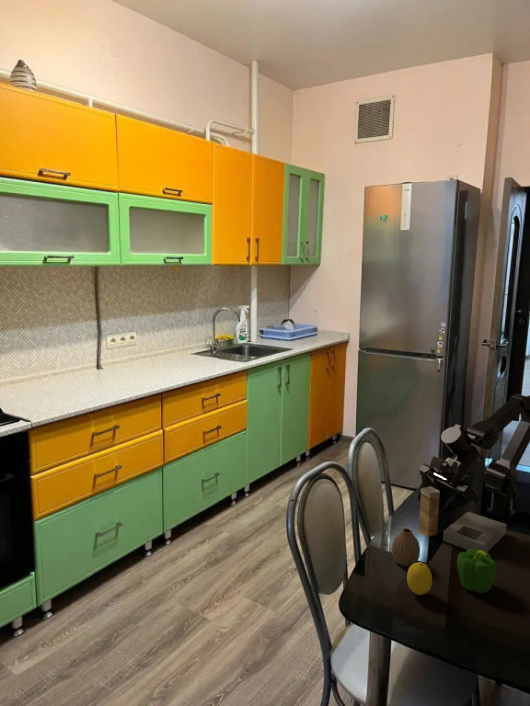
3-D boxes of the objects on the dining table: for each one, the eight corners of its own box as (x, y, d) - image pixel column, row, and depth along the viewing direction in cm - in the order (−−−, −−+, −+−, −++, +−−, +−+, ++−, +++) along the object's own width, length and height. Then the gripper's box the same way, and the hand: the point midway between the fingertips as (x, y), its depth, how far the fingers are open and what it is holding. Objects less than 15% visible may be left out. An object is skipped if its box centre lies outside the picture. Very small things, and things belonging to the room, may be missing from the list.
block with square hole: (467, 521, 154) (468, 511, 154) (505, 534, 147) (506, 524, 146) (442, 540, 143) (443, 530, 142) (483, 555, 135) (483, 545, 135)
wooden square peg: (428, 528, 149) (430, 486, 147) (437, 534, 146) (439, 491, 144) (418, 531, 148) (420, 488, 146) (427, 537, 145) (430, 493, 143)
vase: (419, 557, 134) (421, 526, 133) (418, 572, 128) (420, 539, 127) (392, 553, 137) (394, 521, 135) (390, 566, 130) (391, 534, 129)
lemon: (432, 603, 116) (434, 570, 115) (406, 600, 117) (408, 567, 116) (429, 589, 121) (431, 557, 120) (405, 586, 122) (407, 554, 121)
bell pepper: (451, 576, 126) (453, 538, 125) (485, 577, 126) (488, 539, 124) (463, 597, 118) (466, 557, 116) (499, 598, 118) (503, 558, 116)
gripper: (424, 437, 154) (393, 478, 151) (474, 457, 137) (440, 504, 134) (442, 458, 159) (412, 499, 155) (493, 480, 142) (460, 526, 139)
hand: (429, 506), depth 146 cm, fingers open, 9 cm apart
